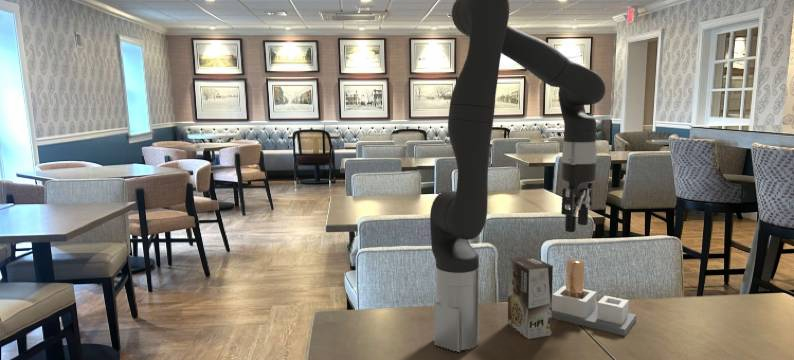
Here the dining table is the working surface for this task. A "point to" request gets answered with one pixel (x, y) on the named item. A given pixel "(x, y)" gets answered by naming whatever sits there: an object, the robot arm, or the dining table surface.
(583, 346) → the dining table surface
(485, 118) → the robot arm
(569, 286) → the copper pipe
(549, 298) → the coffee box
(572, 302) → the socket plate
